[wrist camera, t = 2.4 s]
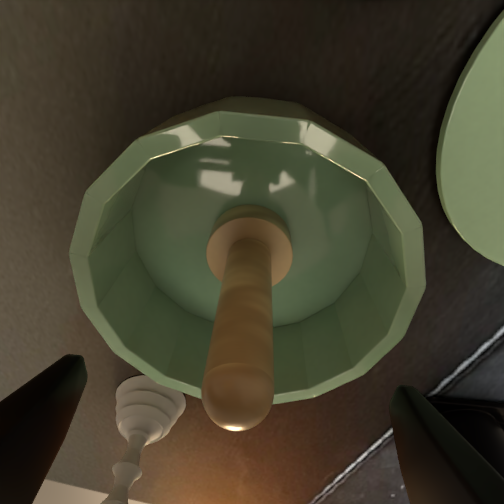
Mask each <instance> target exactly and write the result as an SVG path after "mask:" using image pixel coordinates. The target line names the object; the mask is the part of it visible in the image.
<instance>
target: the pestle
mask: <svg viewBox="0 0 504 504" xmlns="http://www.w3.org/2000/svg"><path fill="white" fill-rule="evenodd" d="M206 258H207V263H208V265H209V268H210V270H211V271H212V273H213V274H214V276H215V277H216V278H217V279H218V280H219V281H221V282H222V285H221V290H220V295H219V300H218V305H217V310H216V315H215V320H214V325H213V330H212V335H211V341H210V346H209V351H208V356H207V361H206V366H205V371H204V376H203V381H202V388H201V398H202V403H203V406H204V409H205V411H206V413H207V414H208V416H209V417H210V418H211V420H212V421H213V422H214V423H216V424H217V425H218V426H220V427H222V428H224V429H227V430H230V431H244V430H248V429H251V428H253V427H254V426H256V425H258V424H259V423H260V422H261V421H262V420H263V419H264V418H265V417H266V416H267V414H268V412H269V411H270V409H271V406H272V403H273V400H274V352H273V313H272V286H274V285H276V284H277V283H279V282H280V281H281V280H282V279H283V278H284V277H285V276H286V274H287V273H288V271H289V270H290V267H291V264H292V260H293V249H292V242H291V236H290V231H289V229H288V226H287V225H286V223H285V221H284V220H283V219H282V218H281V217H280V216H279V215H278V214H277V213H275V212H274V211H272V210H271V209H268V208H266V207H263V206H259V205H241V206H237V207H234V208H231V209H229V210H228V211H226V212H225V213H223V214H222V215H221V216H220V217H219V218H218V219H217V221H216V222H215V224H214V226H213V228H212V231H211V234H210V237H209V240H208V244H207V248H206Z"/></svg>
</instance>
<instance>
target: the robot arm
mask: <svg viewBox="0 0 504 504" xmlns="http://www.w3.org/2000/svg"><path fill="white" fill-rule="evenodd" d="M86 382H87V370H86V366H85V362H84V358H83V357H82V356H81V355H73V354H68V355H65V356H63V357H62V358H61V359H59V360H58V361H56V362H55V363H54V364H52V365H51V366H49V367H48V368H47V369H45V370H44V371H42V372H41V373H40V374H38V375H37V376H35V377H34V378H33V379H31V380H30V381H28V382H27V383H26V384H24V385H23V386H22V387H20V388H19V389H17V390H16V391H15V392H13V393H12V394H10V395H9V396H8V397H6V398H5V399H3V400H2V401H1V402H0V504H32V503H33V501H34V499H35V497H36V495H37V493H38V491H39V489H40V487H41V485H42V483H43V481H44V479H45V477H46V475H47V473H48V471H49V469H50V467H51V465H52V463H53V461H54V459H55V457H56V455H57V453H58V451H59V449H60V447H61V445H62V443H63V441H64V439H65V437H66V434H67V432H68V429H69V427H70V424H71V422H72V419H73V416H74V414H75V411H76V409H77V406H78V403H79V401H80V398H81V396H82V393H83V390H84V388H85V385H86ZM389 412H390V417H391V422H392V428H393V433H394V439H395V444H396V449H397V455H398V460H399V464H400V469H401V473H402V476H403V480H404V483H405V487H406V490H407V494H408V497H409V500H410V504H504V403H495V402H484V401H473V400H462V399H451V398H440V397H426V398H425V397H424V396H423V395H422V394H421V393H420V392H419V391H418V390H417V389H416V388H414V387H413V386H405V385H399V386H398V387H397V389H396V391H395V393H394V395H393V397H392V399H391V401H390V404H389Z"/></svg>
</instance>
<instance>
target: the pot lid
mask: <svg viewBox="0 0 504 504" xmlns="http://www.w3.org/2000/svg"><path fill="white" fill-rule="evenodd" d="M436 178H437V187H438V193H439V197H440V200H441V204H442V207H443V210H444V212H445V214H446V216H447V218H448V220H449V222H450V224H451V225H452V226H453V228H454V229H455V231H456V232H457V233H458V235H459V236H460V237H461V238H462V239H463V240H464V241H465V242H466V243H467V244H468V245H470V246H471V247H472V248H473V249H474V250H475V251H477V252H478V253H480V254H481V255H483V256H484V257H486V258H487V259H489V260H492V261H494V262H496V263H498V264H500V265H503V266H504V10H503V11H502V12H501V14H500V15H499V16H498V17H497V18H496V20H495V21H494V22H493V23H492V25H491V26H490V28H489V29H488V31H487V32H486V34H485V35H484V37H483V38H482V40H481V41H480V42H479V44H478V45H477V47H476V48H475V50H474V51H473V53H472V55H471V57H470V59H469V60H468V62H467V64H466V66H465V68H464V70H463V71H462V73H461V75H460V77H459V79H458V81H457V84H456V86H455V88H454V91H453V93H452V95H451V98H450V100H449V102H448V105H447V109H446V112H445V115H444V119H443V122H442V125H441V129H440V134H439V140H438V146H437V155H436Z"/></svg>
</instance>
